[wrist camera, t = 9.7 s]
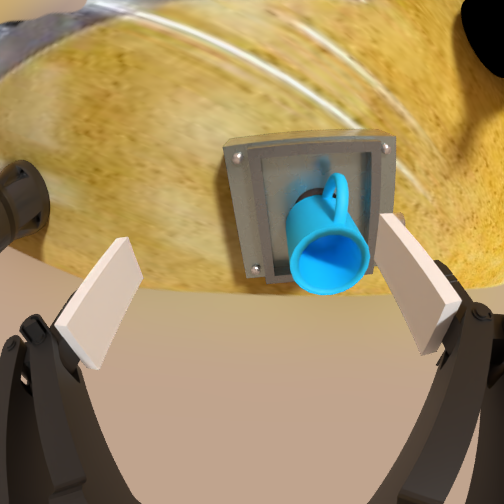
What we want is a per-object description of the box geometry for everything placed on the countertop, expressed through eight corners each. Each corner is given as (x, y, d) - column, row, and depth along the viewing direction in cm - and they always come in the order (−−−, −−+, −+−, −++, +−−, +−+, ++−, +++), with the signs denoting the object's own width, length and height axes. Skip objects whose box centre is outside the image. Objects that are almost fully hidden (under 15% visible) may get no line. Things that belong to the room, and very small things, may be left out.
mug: (340, 257, 35) (355, 297, 28) (280, 249, 35) (283, 291, 28) (364, 170, 29) (392, 195, 22) (296, 157, 29) (306, 179, 22)
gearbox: (249, 254, 43) (245, 287, 36) (229, 138, 34) (219, 150, 27) (390, 242, 40) (409, 271, 34) (396, 129, 31) (425, 140, 24)
